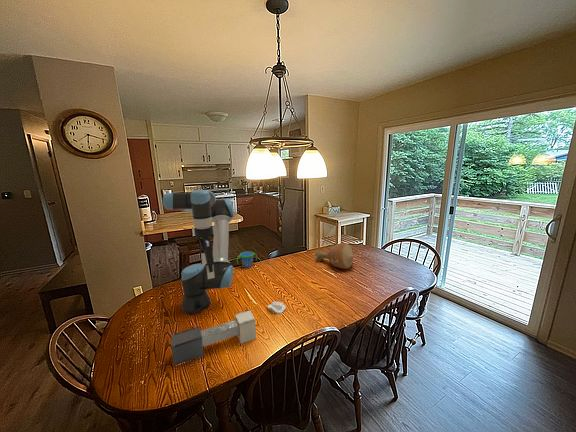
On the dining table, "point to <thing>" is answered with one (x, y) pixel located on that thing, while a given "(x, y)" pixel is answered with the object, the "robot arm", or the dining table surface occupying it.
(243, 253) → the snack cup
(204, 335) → the pale grey rectangular box
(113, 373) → the dining table surface
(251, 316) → the socket
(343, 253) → the jug
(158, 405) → the dining table surface
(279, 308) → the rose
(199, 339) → the dark grey rectangular box
